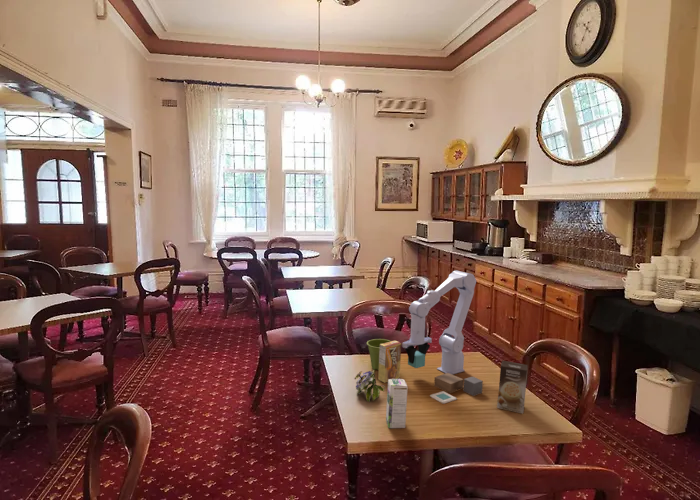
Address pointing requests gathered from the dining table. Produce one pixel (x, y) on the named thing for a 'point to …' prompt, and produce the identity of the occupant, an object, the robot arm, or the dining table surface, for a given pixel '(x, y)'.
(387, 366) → the candy box
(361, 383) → the passion flower
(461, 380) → the walnut block
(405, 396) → the syrup box
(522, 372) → the coffee box
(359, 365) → the dining table surface
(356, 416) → the dining table surface
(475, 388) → the charcoal cube
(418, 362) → the teal cube
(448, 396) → the card
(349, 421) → the dining table surface
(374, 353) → the plant pot
